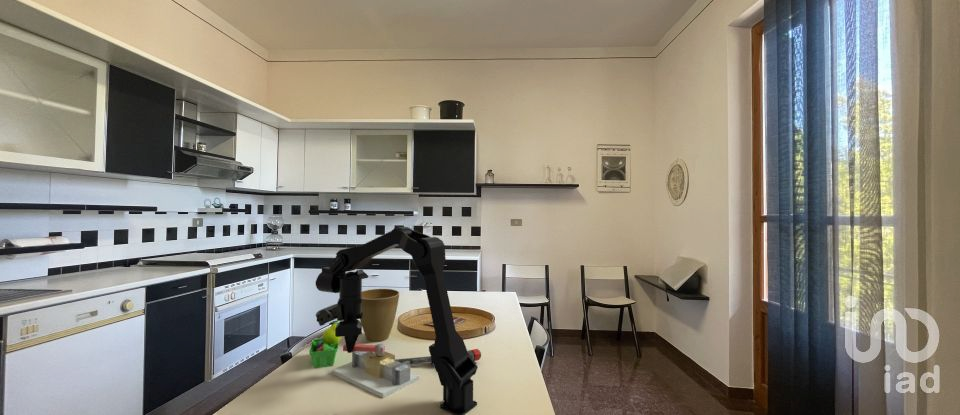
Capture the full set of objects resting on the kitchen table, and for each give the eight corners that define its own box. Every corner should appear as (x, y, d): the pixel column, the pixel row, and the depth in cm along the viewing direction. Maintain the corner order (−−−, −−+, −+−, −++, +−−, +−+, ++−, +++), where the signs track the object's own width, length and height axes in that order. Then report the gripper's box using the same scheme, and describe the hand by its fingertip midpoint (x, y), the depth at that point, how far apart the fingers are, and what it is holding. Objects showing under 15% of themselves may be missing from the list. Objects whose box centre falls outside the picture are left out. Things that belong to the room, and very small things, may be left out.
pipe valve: (412, 382, 96) (412, 361, 96) (397, 389, 91) (397, 368, 92) (365, 362, 107) (365, 344, 107) (349, 368, 103) (350, 349, 103)
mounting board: (419, 379, 98) (419, 375, 98) (383, 397, 88) (383, 393, 88) (367, 359, 111) (367, 355, 111) (331, 373, 101) (331, 369, 101)
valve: (478, 357, 118) (483, 370, 103) (397, 364, 115) (390, 379, 100) (477, 337, 119) (482, 347, 104) (396, 343, 116) (390, 355, 101)
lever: (385, 353, 100) (385, 343, 100) (382, 356, 98) (382, 346, 98) (346, 350, 102) (346, 341, 102) (342, 354, 100) (343, 344, 100)
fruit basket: (312, 355, 113) (313, 319, 113) (343, 351, 116) (343, 316, 116) (308, 370, 103) (309, 330, 103) (342, 366, 105) (342, 327, 106)
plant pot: (353, 334, 132) (353, 290, 132) (394, 329, 138) (394, 287, 138) (357, 349, 118) (358, 300, 118) (403, 342, 125) (403, 295, 125)
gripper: (322, 289, 105) (321, 344, 105) (313, 304, 87) (312, 370, 87) (362, 287, 109) (362, 340, 108) (362, 301, 91) (361, 364, 90)
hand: (349, 352), depth 98 cm, fingers closed
